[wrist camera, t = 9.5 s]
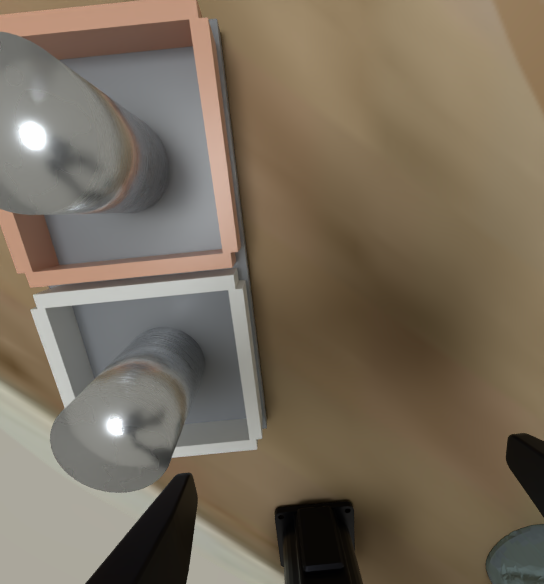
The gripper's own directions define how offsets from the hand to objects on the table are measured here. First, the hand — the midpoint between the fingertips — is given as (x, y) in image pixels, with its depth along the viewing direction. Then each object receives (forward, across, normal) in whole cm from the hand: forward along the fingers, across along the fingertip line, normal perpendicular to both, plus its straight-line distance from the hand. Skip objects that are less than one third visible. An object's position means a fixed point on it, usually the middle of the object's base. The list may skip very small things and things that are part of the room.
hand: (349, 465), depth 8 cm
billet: (+11, +9, +1) cm, 14 cm away
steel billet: (+10, +9, -11) cm, 17 cm away
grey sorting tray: (+12, +9, -5) cm, 15 cm away
